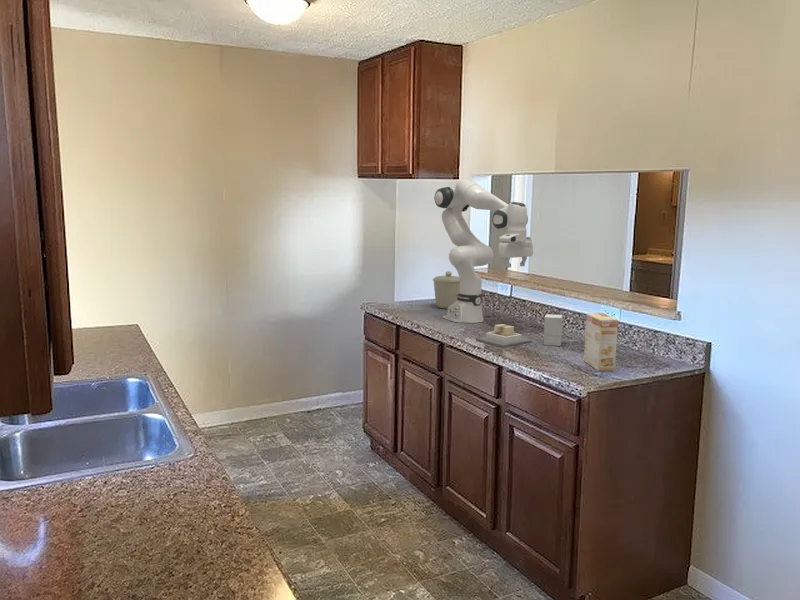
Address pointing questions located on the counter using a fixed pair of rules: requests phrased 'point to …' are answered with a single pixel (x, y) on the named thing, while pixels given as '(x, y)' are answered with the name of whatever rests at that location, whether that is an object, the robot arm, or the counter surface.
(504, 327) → the tan cardboard carton
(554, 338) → the supplement box
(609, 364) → the coffeecake box
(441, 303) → the canister
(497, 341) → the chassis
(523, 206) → the robot arm
